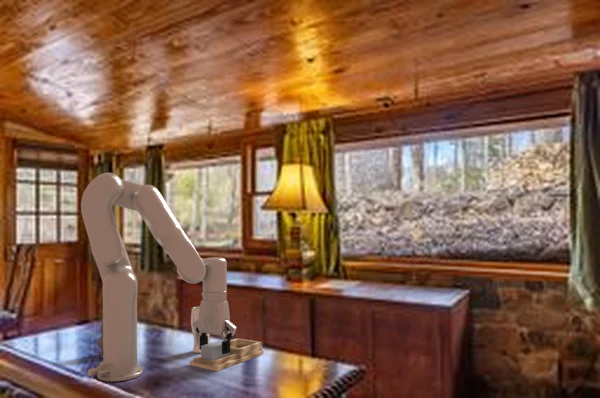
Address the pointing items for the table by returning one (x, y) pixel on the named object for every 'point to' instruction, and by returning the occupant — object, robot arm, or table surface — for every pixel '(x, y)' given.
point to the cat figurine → (101, 339)
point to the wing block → (212, 351)
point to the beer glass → (196, 339)
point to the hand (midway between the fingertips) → (214, 351)
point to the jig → (232, 355)
